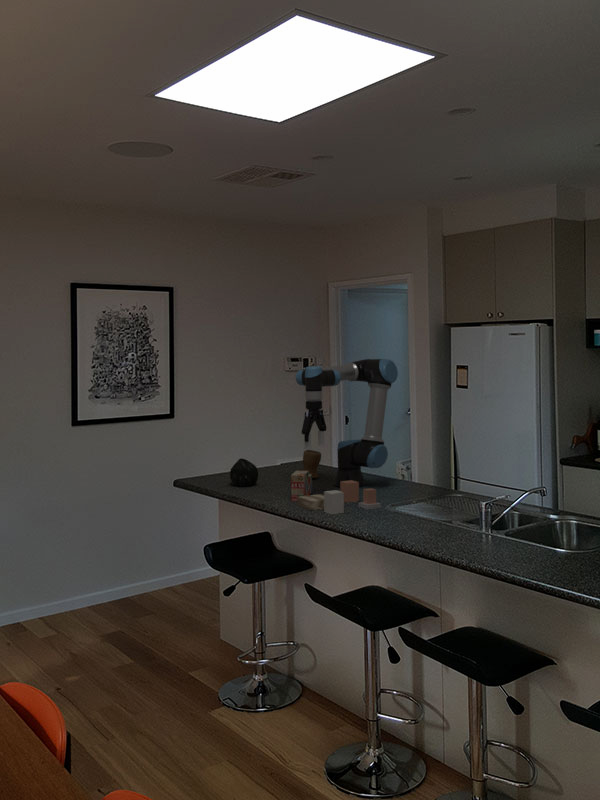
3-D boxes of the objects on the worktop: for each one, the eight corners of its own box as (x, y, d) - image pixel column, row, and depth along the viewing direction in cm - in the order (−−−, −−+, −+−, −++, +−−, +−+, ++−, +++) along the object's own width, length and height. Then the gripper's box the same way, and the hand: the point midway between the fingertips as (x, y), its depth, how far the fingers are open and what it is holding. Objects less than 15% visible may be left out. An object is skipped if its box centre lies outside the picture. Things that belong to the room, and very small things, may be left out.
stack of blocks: (299, 492, 367) (299, 467, 366) (312, 493, 366) (312, 467, 365) (291, 501, 346) (290, 474, 345) (304, 501, 345) (304, 474, 344)
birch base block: (320, 502, 341) (320, 494, 341) (334, 507, 330) (334, 498, 330) (297, 505, 335) (297, 496, 335) (310, 510, 324) (310, 501, 324)
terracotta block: (351, 499, 348) (351, 480, 347) (358, 501, 342) (358, 482, 342) (340, 501, 345) (340, 481, 344) (347, 503, 340) (347, 483, 339)
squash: (259, 471, 397) (240, 451, 393) (267, 477, 383) (247, 456, 379) (239, 490, 395) (220, 470, 390) (246, 496, 381) (227, 476, 376)
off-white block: (336, 511, 324) (335, 490, 323) (343, 513, 318) (343, 492, 318) (324, 512, 321) (323, 491, 320) (331, 515, 316) (331, 493, 315)
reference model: (371, 505, 334) (371, 487, 334) (381, 508, 328) (380, 489, 328) (358, 507, 331) (358, 488, 331) (367, 509, 325) (367, 491, 324)
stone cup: (324, 479, 404) (324, 451, 403) (303, 480, 400) (303, 452, 399) (315, 474, 418) (314, 447, 417) (294, 476, 415) (294, 448, 414)
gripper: (318, 398, 356) (319, 443, 357) (293, 402, 334) (294, 450, 335) (333, 398, 352) (333, 444, 354) (308, 402, 330) (309, 451, 332)
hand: (314, 447), depth 344 cm, fingers open, 13 cm apart
